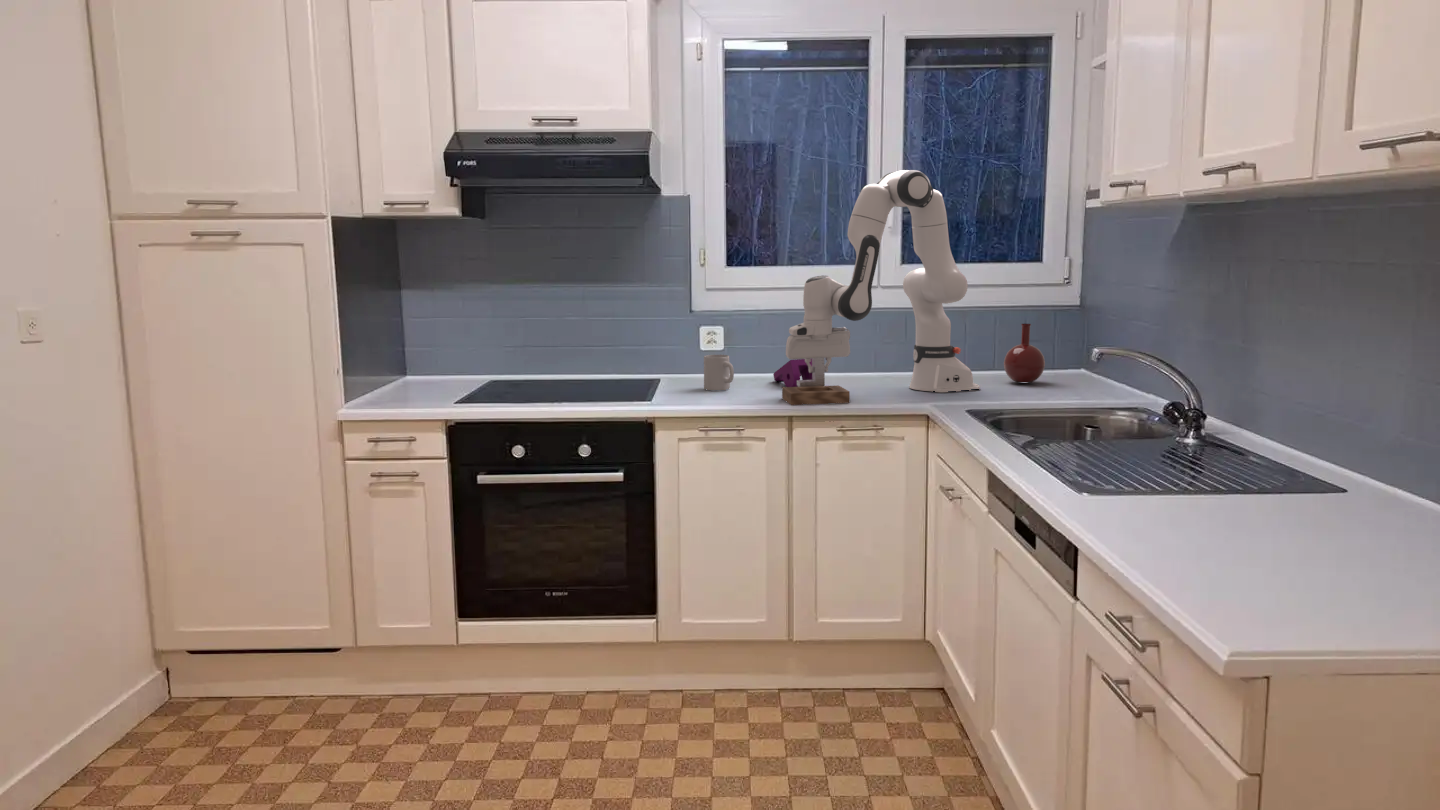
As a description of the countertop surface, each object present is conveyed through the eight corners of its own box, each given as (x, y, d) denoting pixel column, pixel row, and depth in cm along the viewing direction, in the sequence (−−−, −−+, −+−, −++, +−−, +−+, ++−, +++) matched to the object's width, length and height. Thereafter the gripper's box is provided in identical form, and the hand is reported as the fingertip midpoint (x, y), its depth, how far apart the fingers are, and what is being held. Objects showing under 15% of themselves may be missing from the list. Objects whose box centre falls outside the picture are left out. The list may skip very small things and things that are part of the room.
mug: (698, 389, 324) (698, 356, 322) (717, 386, 330) (717, 353, 328) (723, 393, 316) (723, 359, 314) (742, 390, 321) (742, 356, 319)
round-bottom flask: (1043, 381, 335) (1046, 322, 332) (1044, 387, 323) (1047, 326, 319) (1003, 379, 339) (1005, 321, 335) (1003, 385, 326) (1005, 325, 323)
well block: (838, 396, 308) (838, 385, 307) (849, 402, 296) (849, 391, 295) (782, 398, 305) (782, 387, 304) (791, 405, 293) (791, 393, 292)
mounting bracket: (773, 400, 337) (795, 384, 321) (769, 376, 339) (790, 359, 323) (798, 398, 341) (820, 382, 325) (793, 375, 343) (815, 358, 327)
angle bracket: (821, 383, 312) (821, 355, 311) (824, 385, 309) (824, 357, 307) (796, 385, 311) (796, 357, 310) (799, 387, 307) (799, 358, 306)
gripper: (847, 325, 312) (847, 369, 314) (784, 328, 309) (784, 372, 311) (852, 327, 305) (853, 371, 308) (788, 330, 302) (789, 375, 305)
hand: (818, 372), depth 310 cm, fingers closed on angle bracket, 3 cm apart
